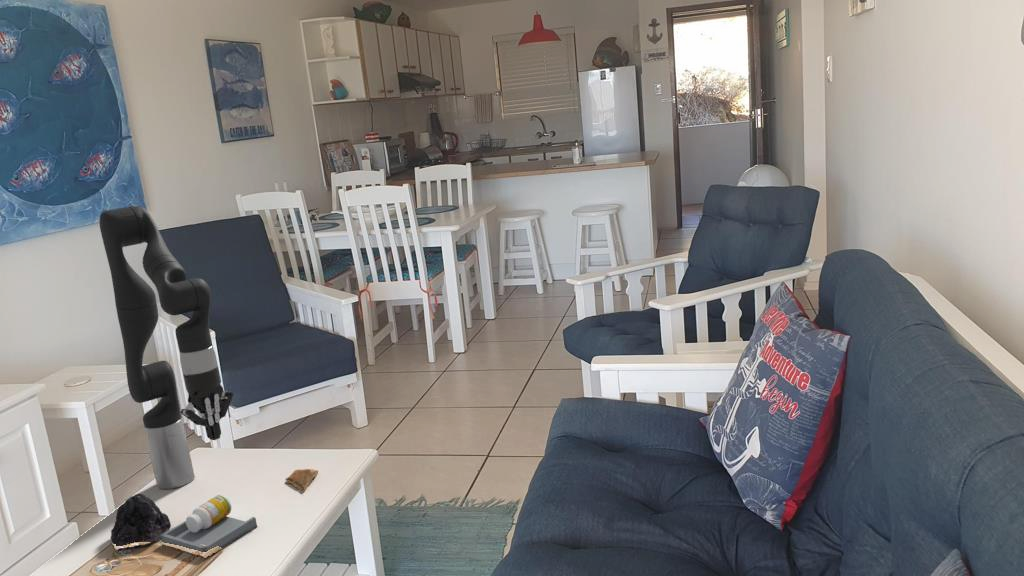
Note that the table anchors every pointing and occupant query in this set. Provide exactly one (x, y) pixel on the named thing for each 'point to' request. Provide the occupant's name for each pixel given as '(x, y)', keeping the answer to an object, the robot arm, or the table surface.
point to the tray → (209, 534)
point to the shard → (302, 478)
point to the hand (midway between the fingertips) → (214, 438)
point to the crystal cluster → (139, 521)
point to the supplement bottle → (208, 513)
